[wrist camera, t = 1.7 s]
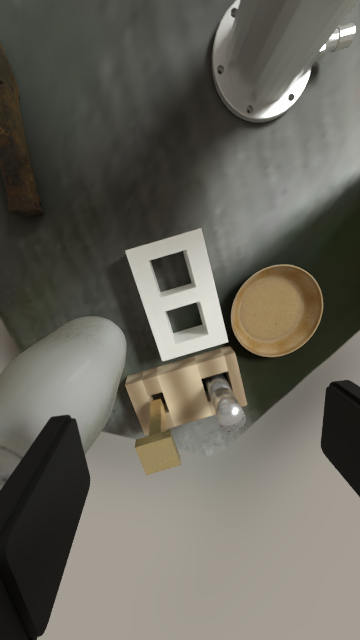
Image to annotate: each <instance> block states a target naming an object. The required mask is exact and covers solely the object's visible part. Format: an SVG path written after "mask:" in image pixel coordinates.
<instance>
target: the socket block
mask: <svg viewBox="0 0 360 640" xmlns="http://www.w3.org/2000/svg"><path fill="white" fill-rule="evenodd" d="M223 372H226V376H227V379H228V383H229V386H230V388H231V390H232V391H233V393H234V395H235V397H236V399H237V401H238V403H239V405H240V406H241V407H242V406H246V405H247V402H246V397H245V393H244V389H243V384H242V380H241V376H240V372H239V367H238V363H237V359H236V355H235V352H234V351H233V349H232V348H231V347H230V346H227V347H223V348H220V349H217V350H213V351H210V352H206V353H203V354H200V355H196V356H193V357H190V358H186V359H183V360H179V361H176V362H173V363H169V364H166V365H163V366H159V367H156V368H152V369H149V370H146V371H142V372H139V373H136V374H132V375H129V376H127V380H126V383H125V387H126V389H127V392H128V394H129V397H130V399H131V402H132V404H133V407H134V409H135V412H136V414H137V417H138V419H139V422H140V424H141V427H142V429H143V432H144V434H145V435H148V434H149V424H150V408H151V401H154V399H153V396H152V395H154V394H157V393H161V392H163V395H164V398H165V401H166V402H165V403H163V406H164V409H165V412H166V415H167V429H168V428H172V427H175V426H178V425H182V424H185V423H189V422H192V421H195V420H199V419H202V418H205V417H209V416H212V415H215V414H216V412H215V410H214V407H213V404H212V401H211V398H210V395H209V393H208V391H206V392H205V390H204V387H203V384H202V380H201V379H203V378H206V377H210V376H213V375H216V374H220V373H223Z"/></svg>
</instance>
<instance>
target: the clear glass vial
mask: <svg viewBox="0 0 360 640" xmlns="http://www.w3.org/2000/svg"><path fill="white" fill-rule="evenodd" d="M204 381H205V384H206V387H207V390H208V393H209V395H210V398H211V401H212V404H213V407H214V410H215V412H216V415H217V418H218V421H219V424H220V426H221V428H222V429H224V430H225V431H230V432H232V431H236V430H239V429H240V428H241V427H242V426H243V425H244V424H245V421H246V416H245V414H244V412H243V410H242V408H241V406H240V405H239V403H238V401H237V399H236V397H235V395H234V393H233V391H232V390H231V388H230V386H229V384H228V382H227V380H226V378H225V376H224V375H223V373H220V374H216V375H213V376H210V377H206V378H204Z"/></svg>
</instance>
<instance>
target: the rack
mask: <svg viewBox="0 0 360 640" xmlns="http://www.w3.org/2000/svg"><path fill="white" fill-rule="evenodd" d="M180 251H183V253H184V257H185V261H186V264H187V268H188V272H189V276H190V279H191V283H190V284H186V285H183V286H180V287H176V288H173V289H170V290H166V291H163V292H160V289H159V286H158V282H157V279H156V276H155V273H154V270H153V266H152V263H151V260H153V259H157V258H160V257H163V256H167V255H170V254H174V253H177V252H180ZM125 252H126V255H127V258H128V261H129V264H130V267H131V270H132V273H133V276H134V279H135V282H136V285H137V288H138V291H139V294H140V297H141V300H142V303H143V306H144V309H145V312H146V315H147V318H148V321H149V324H150V326H151V329H152V332H153V335H154V338H155V341H156V344H157V347H158V350H159V353H160V356H161V359H162V362H163V361H166V360H169V359H173V358H176V357H179V356H183V355H186V354H190V353H193V352H196V351H200V350H203V349H206V348H210V347H213V346H217V345H220V344H223V343H227V342H228V338H227V334H226V329H225V325H224V321H223V317H222V313H221V309H220V304H219V300H218V296H217V292H216V288H215V283H214V279H213V275H212V271H211V267H210V263H209V258H208V254H207V250H206V246H205V242H204V237H203V233H202V229H201V228H200V229H197V230H193V231H190V232H186V233H183V234H180V235H176V236H173V237H169V238H166V239H163V240H159V241H156V242H152V243H149V244H146V245H142V246H139V247H136V248H132V249H129V250H125ZM196 302H197V306H198V309H199V313H200V317H201V321H202V325H199V326H196V327H192V328H189V329H185V330H182V331H179V332H175V333H173V331H172V328H171V325H170V321H169V318H168V315H167V312H166V311H169V310H172V309H176V308H179V307H182V306H186V305H189V304H192V303H196Z"/></svg>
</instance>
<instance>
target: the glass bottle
mask: <svg viewBox="0 0 360 640" xmlns="http://www.w3.org/2000/svg"><path fill="white" fill-rule="evenodd" d="M126 346H127V345H126V340H125V336H124V334H123V332H122V330H121V329H120V328H119V327H118V326H117V325H116V324H115V323H113V322H112V321H110V320H108V319H106V318H102V317H96V316H88V317H81V318H77V319H74V320H72V321H69V322H67V323H66V324H64V325H62V326H61V327H59V328H58V329H56V330H55V331H53V332H52V333H51V334H49V335H48V336H46V337H45V338H43V339H41V340H40V341H38V342H37V343H35V344H34V345H32V346H31V347H29V348H28V349H27V350H25V351H24V352H22V353H21V354H20V355H18V356H17V357H16V358H15V359H14V360H13V361H12V362H11V363H9V364H8V366H7V367H6V368H5V369H4V370H3V372H2V373H1V374H0V490H1V489H2V487H3V486H4V484H5V483H6V481H7V480H8V478H9V477H10V475H11V474H12V472H13V471H14V470H15V468H16V467H17V465H18V464H19V463H20V461H21V460H22V458H23V457H24V455H25V454H26V452H27V451H28V449H29V448H30V446H31V445H32V444H33V442H34V441H35V439H36V438H37V436H38V435H39V433H40V432H41V430H42V429H43V427H44V426H45V425H46V423H47V422H48V420H49V419H50V418H51V417H53V416H61V415H70V416H71V418H75V419H76V421H77V425H78V429H79V433H80V437H81V442H82V446H83V450H84V454H85V453H86V452H87V451H88V449H89V448H90V447H91V445H92V444H93V442H94V441H95V439H96V438H97V437H98V435H99V434H100V432H101V431H102V430H103V428H104V426H105V425H106V423H107V421H108V418H109V416H110V414H111V411H112V409H113V406H114V403H115V399H116V394H117V390H118V385H119V381H120V378H121V375H122V372H123V369H124V365H125V358H126Z"/></svg>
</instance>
